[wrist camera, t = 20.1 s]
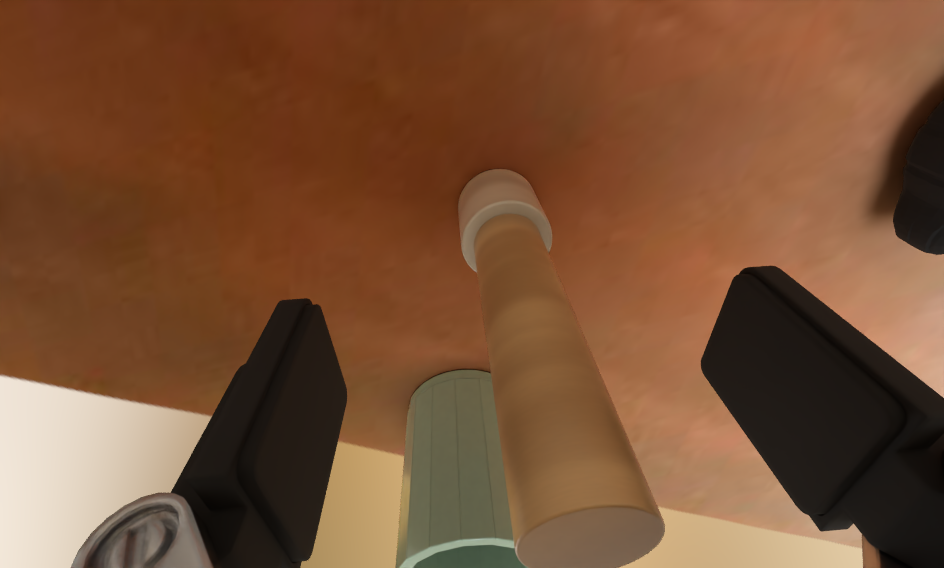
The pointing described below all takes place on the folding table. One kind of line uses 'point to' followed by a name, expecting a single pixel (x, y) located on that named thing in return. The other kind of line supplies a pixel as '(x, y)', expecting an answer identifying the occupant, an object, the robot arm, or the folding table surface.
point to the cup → (454, 478)
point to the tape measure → (924, 188)
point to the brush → (550, 394)
